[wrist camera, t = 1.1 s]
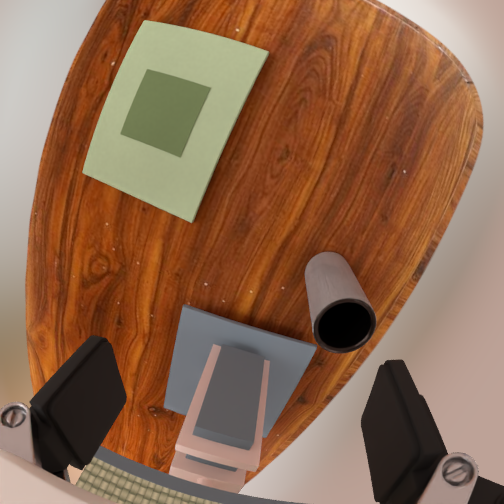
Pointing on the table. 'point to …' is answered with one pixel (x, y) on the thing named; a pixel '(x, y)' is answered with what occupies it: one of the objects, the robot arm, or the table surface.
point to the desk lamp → (211, 414)
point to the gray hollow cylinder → (337, 304)
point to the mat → (171, 114)
